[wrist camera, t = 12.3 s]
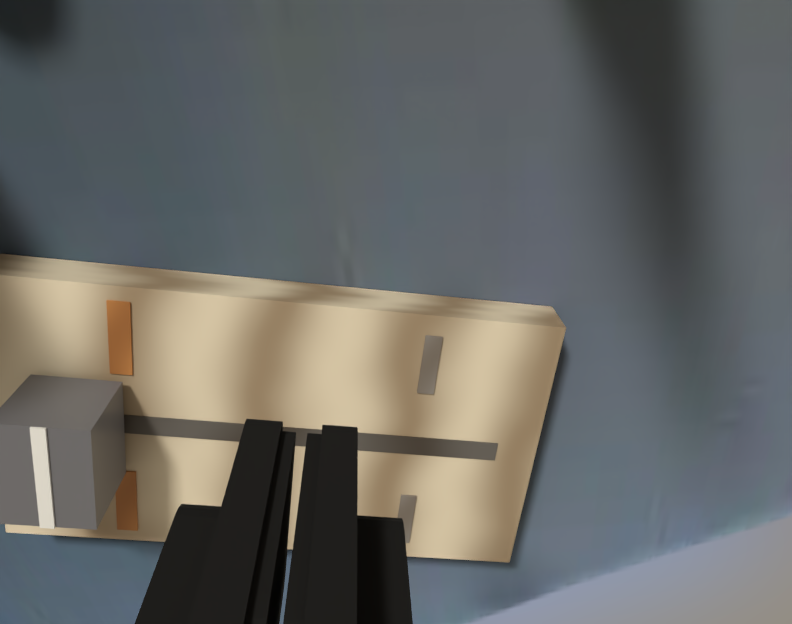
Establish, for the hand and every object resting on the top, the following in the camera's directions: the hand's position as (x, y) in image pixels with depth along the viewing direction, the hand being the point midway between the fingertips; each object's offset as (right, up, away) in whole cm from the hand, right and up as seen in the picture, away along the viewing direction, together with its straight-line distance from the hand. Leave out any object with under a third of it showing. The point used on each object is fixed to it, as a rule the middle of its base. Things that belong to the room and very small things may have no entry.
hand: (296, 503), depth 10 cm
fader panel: (-5, -2, +25) cm, 25 cm away
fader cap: (-13, -2, +21) cm, 25 cm away
